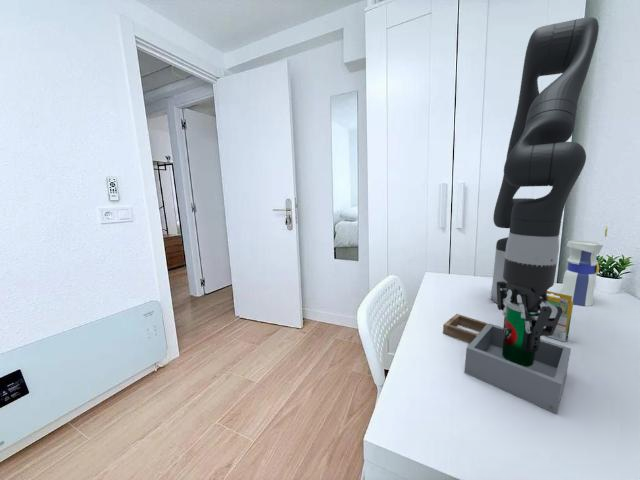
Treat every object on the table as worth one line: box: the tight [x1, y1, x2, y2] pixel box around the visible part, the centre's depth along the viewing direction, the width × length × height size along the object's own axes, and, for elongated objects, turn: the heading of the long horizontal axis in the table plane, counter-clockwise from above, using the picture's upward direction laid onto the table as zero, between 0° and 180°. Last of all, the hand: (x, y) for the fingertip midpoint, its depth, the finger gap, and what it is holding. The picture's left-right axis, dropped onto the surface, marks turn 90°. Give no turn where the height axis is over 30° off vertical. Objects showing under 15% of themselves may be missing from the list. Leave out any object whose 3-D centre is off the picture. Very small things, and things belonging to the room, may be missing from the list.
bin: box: [464, 323, 572, 415], centre depth 52 cm, size 14×14×6 cm
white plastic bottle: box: [560, 225, 608, 307], centre depth 83 cm, size 8×9×25 cm
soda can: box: [502, 301, 538, 367], centre depth 51 cm, size 5×5×12 cm
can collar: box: [442, 313, 489, 344], centre depth 67 cm, size 8×8×2 cm
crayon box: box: [544, 290, 574, 343], centre depth 65 cm, size 7×3×12 cm, turn 37°
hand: (519, 341), depth 51 cm, fingers closed on soda can, 5 cm apart
